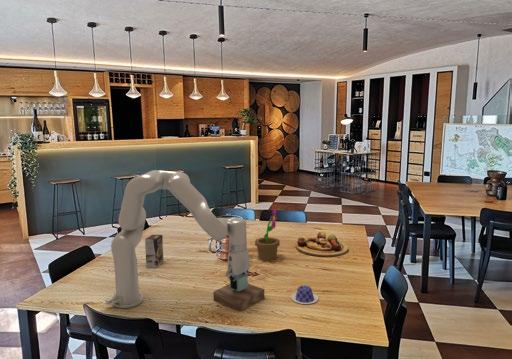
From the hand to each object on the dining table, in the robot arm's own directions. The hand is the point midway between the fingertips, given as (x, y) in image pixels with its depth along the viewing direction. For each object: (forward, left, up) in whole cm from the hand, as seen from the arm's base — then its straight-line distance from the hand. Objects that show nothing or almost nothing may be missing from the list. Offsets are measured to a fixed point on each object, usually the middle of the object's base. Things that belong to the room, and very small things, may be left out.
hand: (238, 285), depth 167 cm
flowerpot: (+47, +22, -6) cm, 52 cm away
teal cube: (0, 0, -1) cm, 1 cm away
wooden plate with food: (+82, +7, -7) cm, 82 cm away
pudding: (+19, -22, -7) cm, 30 cm away
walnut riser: (0, 0, -6) cm, 6 cm away
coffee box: (0, +64, -6) cm, 64 cm away
